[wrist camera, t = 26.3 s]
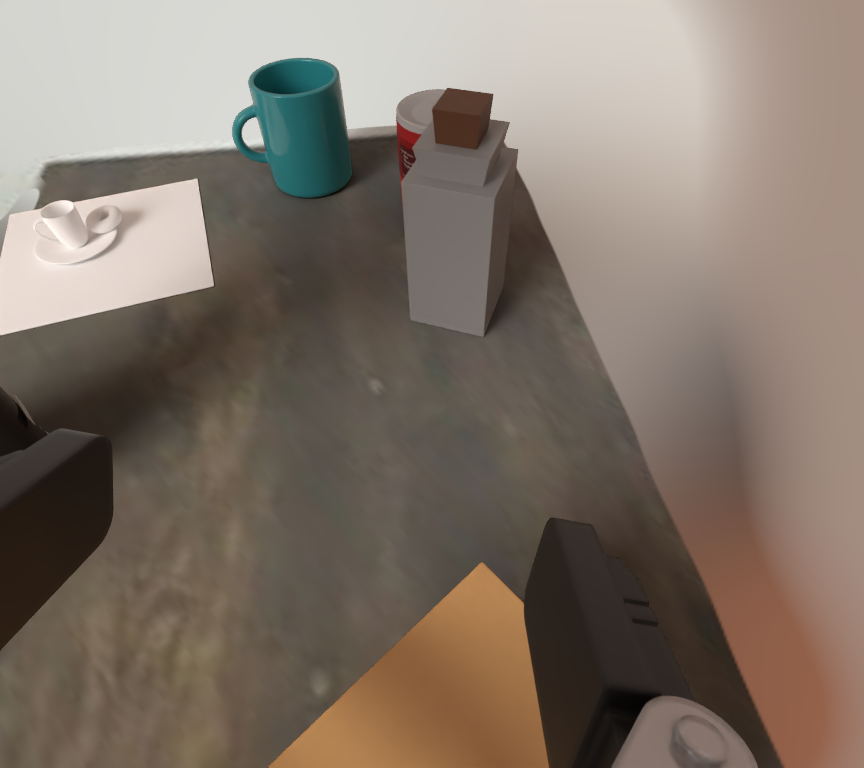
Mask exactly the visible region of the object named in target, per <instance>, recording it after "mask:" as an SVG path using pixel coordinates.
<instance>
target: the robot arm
mask: <svg viewBox="0 0 864 768" xmlns="http://www.w3.org/2000/svg"><path fill="white" fill-rule="evenodd" d="M12 393H13V392H12ZM13 395H14V396H15V398H16V400H17V401H18V403H19V405H20V406H21V407H20V406H19V405H18V404H17V403H16V402H15V401H14V400H13V399H12V398H11V397H10V396H9V395H8V394H7V393H6V392H5V391H4V390H3V389H2V388H1V387H0V650H1V649H2V648H3V647H4V646H5V645H6V644H7V643H8V642H9V641H10V639H11V638H12V637H13V636H14V635H15V634H16V633H17V632H18V631H19V630H20V629H21V628H22V627H23V626H24V625H25V624H26V623H27V621H28V620H29V619H30V618H31V617H32V616H33V615H34V614H35V613H36V612H37V611H38V610H39V609H40V608H41V607H42V606H43V605H44V604H45V602H46V601H47V600H48V599H49V598H50V597H51V596H52V595H53V594H54V593H55V592H56V591H57V590H58V589H59V588H60V587H61V586H62V584H63V583H64V582H65V581H66V580H67V579H68V578H69V577H70V576H71V575H72V574H73V573H74V572H75V571H76V570H77V569H78V568H79V566H80V565H81V564H82V563H83V562H84V561H85V560H86V559H87V558H88V557H89V556H90V555H91V554H92V553H93V552H94V551H95V550H96V548H97V547H98V546H99V545H100V544H101V543H102V541H103V540H104V538H105V536H106V534H107V532H108V530H109V527H110V525H111V521H112V517H113V465H112V445H111V442H110V440H109V439H108V438H107V437H106V436H102V435H97V434H91V433H86V432H80V431H74V430H69V429H63V428H62V429H57V430H55V431H53V432H51V433H50V434H49V433H48V432H46V431H45V430H44V429H43V428H42V427H40V426H39V425H38V424H37V423H36V422H35V421H34V420H33V419H32V418H31V416H30V415H29V413H28V411H27V410H26V408H25V406H24V405H23V403H22V402H21V401H20V400H19V399H18V398H17V396H16V395H15V394H14V393H13ZM524 620H525V626H526V632H527V638H528V644H529V650H530V656H531V662H532V668H533V674H534V680H535V686H536V692H537V698H538V704H539V710H540V716H541V722H542V728H543V734H544V740H545V746H546V752H547V758H548V764H549V768H758V766H757V763H756V761H755V759H754V757H753V755H752V753H751V751H750V750H749V748H748V747H747V745H746V743H745V742H744V741H743V740H742V738H741V737H740V736H739V735H738V734H737V733H736V732H735V731H734V729H733V728H732V727H731V726H730V725H728V724H727V723H726V722H725V721H724V720H723V719H722V718H720V717H719V716H717V715H716V714H715V713H713V712H712V711H710V710H709V709H707V708H705V707H704V706H702V705H700V704H698V703H696V702H695V700H694V698H693V696H692V693H691V691H690V689H689V687H688V685H687V683H686V680H685V678H684V676H683V674H682V672H681V670H680V668H679V665H678V663H677V661H676V659H675V657H674V655H673V653H672V650H671V648H670V646H669V644H668V642H667V640H666V637H665V635H664V633H663V631H662V629H661V628H660V627H658V623H659V622H658V620H657V618H656V616H655V614H654V612H653V610H652V607H649V601H648V599H647V597H646V594H645V592H644V590H643V588H642V586H641V584H640V582H639V579H638V578H637V577H636V576H635V575H634V574H633V573H632V572H631V571H630V570H629V569H628V568H627V567H626V566H625V564H624V563H623V562H622V561H621V560H620V559H619V558H618V557H613V556H607V555H605V553H604V551H603V548H602V546H601V543H600V541H599V538H598V536H597V533H596V531H595V529H594V527H593V526H592V525H591V524H586V523H580V522H575V521H569V520H563V519H558V518H550V519H549V520H548V521H547V523H546V525H545V528H544V531H543V535H542V538H541V541H540V544H539V547H538V551H537V554H536V557H535V560H534V563H533V567H532V570H531V573H530V576H529V580H528V583H527V587H526V592H525V599H524Z"/></svg>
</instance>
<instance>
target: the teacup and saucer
mask: <svg viewBox="0 0 864 768" xmlns="http://www.w3.org/2000/svg"><path fill="white" fill-rule="evenodd" d="M39 216H40V217H41V218H37V219H35V220H34V222H33V223H32V229H33V230H34V232H35V233H36V234H37V235H38V236H39V237H38V239H37V240H36V241H35V243H34V246H33V253H34V255H35V257H36V258H37V259H38V260H39V261H41V262H43V263H45V264H49V265H56V266H63V265H71V264H76V263H80V262H83V261H86V260H89V259H91V258H93V257H95V256H97V255H99V254H101V253H102V252H104V251H105V250H106V249H107V248H109V247H110V246H111V245H112V244H113V242H114V241H115V240H116V238H117V235H118V226H119V225H120V224H121V222H122V220H123V213H122V211H121V209H120V208H119V207H118V206H116V205H113V204H104V205H100V206H98V207H96V208H94V209H93V210H91V211H90V212H89V213H88V215H85V216H81V214H80V212H79V211H78V209H77V207H76V205H75V203H74V202H71V201H67V200H61V201H56V202H53V203H50V204H48V205H46V206H45V207H44V208H42V209H41V210H40V211H39ZM38 224H44V225H46V226H47V227H48V228H49V229H47V230H46V231H45V232H43V233H41V232H40V231H39V230H38V229H37V225H38Z"/></svg>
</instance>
